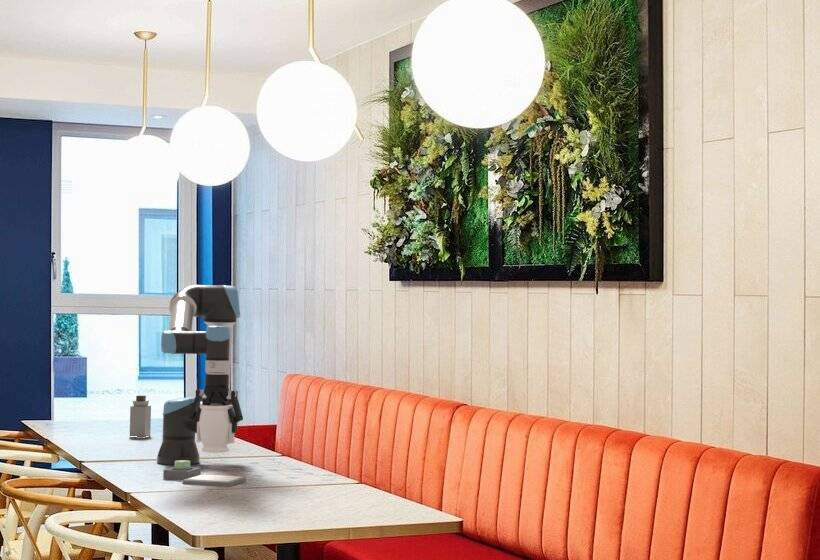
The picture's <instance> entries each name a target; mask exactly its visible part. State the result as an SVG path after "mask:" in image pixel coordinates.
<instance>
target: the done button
mask: <svg viewBox="0 0 820 560" xmlns="http://www.w3.org/2000/svg"><path fill="white" fill-rule="evenodd" d="M174 467H175V470H185V471H187V470H190V467H191V464H190V461H188V460H178V461H175V465H174Z"/></svg>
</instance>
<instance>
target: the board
mask: <svg viewBox="0 0 820 560" xmlns="http://www.w3.org/2000/svg"><path fill="white" fill-rule="evenodd" d="M246 480H247V477H243V476H237V475H236V476H235V475H233V476H232V475H217V474H216V475H215V474H205V473H204V474H202V473H201V475H198V476H195V477H192V478H188V479H185V480H182V483H181V484H182V485H193V486H194V485H195V486H209V487H224V488H231V487H232V486H235V485H236V486H237V485H238V484H239V485H240V484H241V483H244V482H246Z"/></svg>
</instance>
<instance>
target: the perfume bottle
mask: <svg viewBox="0 0 820 560" xmlns="http://www.w3.org/2000/svg"><path fill="white" fill-rule="evenodd" d="M146 398H147V395H141V394H140V395H139V394H138V395H136V396H135V399H136V400H132V406H130V409H129V410H130V411H129V412H130V413H129V437H130V436H137V437H146V436H150V437H151V430H152V429H151V426H152V425H151V423H152V421H151V420H152V419H151V418H152V406H151V405H149V402H150V400H147V399H146Z"/></svg>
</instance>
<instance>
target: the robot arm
mask: <svg viewBox="0 0 820 560" xmlns="http://www.w3.org/2000/svg"><path fill="white" fill-rule="evenodd" d="M238 292H239V291H238V288H237V287H236V286H235V285H227V284H226V285H225V284H219V285H218V284H217V285H216V284H214V285H213V284H211V285H210V284H193V285H188V286H186V287H184V288H182V289H179V291H177V292H176V293H175V294H174V295H173V296H172V297H171V299H170V302H169V307H168V309H169V313H170V319H169V320H170V322H169V329H168V330H163V331H162V332H161V339H160V340H161V341H160V344H161V345H160V346H161V347H160V349H161V352H162V353H163V354H171V355H179V354H180V355H186V354H187V355H205V371H204V372H205V376H204V378H205V379H204V387H205V388H204V389H200V388H198V389H196V390H195V397H194V396H191V397H189V396H188V397H181V398H180V397H179V398H174V399H169V400H166V401H165V402H164V404H163V410H162V411H163V412H162V415H163V417H162V419H163V420H162V422H163V423H162V441H161V445H160V446H159V447H160V448H159V449H158V450H159V451H158V453H157V457H156V462H157V464H160V465H172V466H173V465H174V466H175V461H178V460H188V461H190V465H194V464H199V463H200V461H201V460H200V458H201V457H200V452H199V449H198V446H197V443H202V441H201V436H200V429H199V419H200V414H201V408H200V405H202V404H203V405H207V406H209V405H210V404H222V405H223V406H226V405H232V406H233V408H232V409H228V415H229V418H230V420H231V423H229V443H228V445H229V444H230V445H231V444H235V434H236V433H238V423H239V422H241V421H243V420H244V415H243V413H242V409H241V406H240V403H239V402H240V401H239V399H238V394H239V392H238V390H231V381H232V380H231V377H232V374H231V373H232V338H233V337H232V335H233V334H232V333H233V326H234V325H235V324H236V323H237V319H239V318H241V309H240V300H239V293H238ZM195 317H196V318H197V317H199V318H203V323H204V324H206V326H207V327H206V331H201V330H199V331H198V330H197V331H195V330H193V320H194V318H195Z"/></svg>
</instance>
